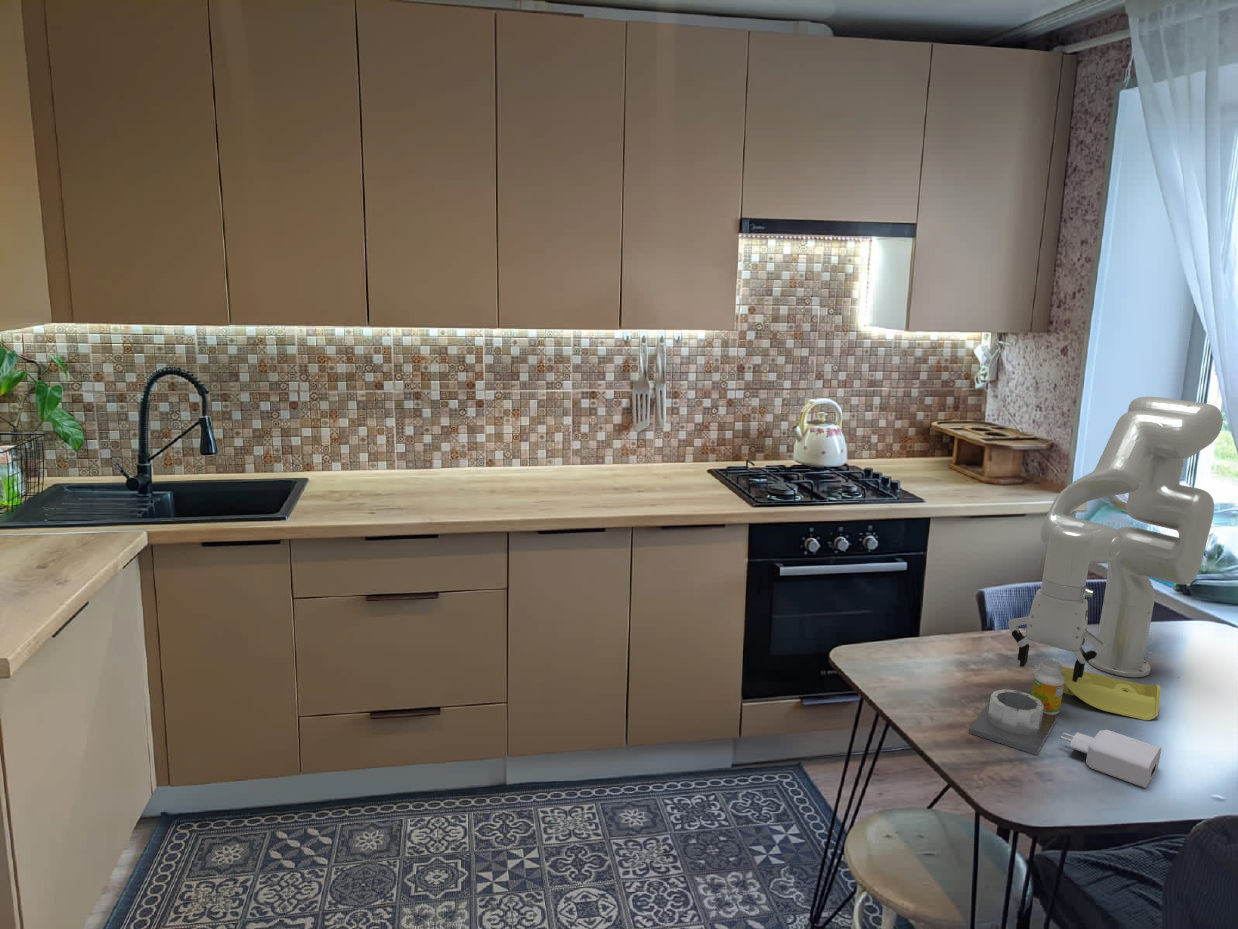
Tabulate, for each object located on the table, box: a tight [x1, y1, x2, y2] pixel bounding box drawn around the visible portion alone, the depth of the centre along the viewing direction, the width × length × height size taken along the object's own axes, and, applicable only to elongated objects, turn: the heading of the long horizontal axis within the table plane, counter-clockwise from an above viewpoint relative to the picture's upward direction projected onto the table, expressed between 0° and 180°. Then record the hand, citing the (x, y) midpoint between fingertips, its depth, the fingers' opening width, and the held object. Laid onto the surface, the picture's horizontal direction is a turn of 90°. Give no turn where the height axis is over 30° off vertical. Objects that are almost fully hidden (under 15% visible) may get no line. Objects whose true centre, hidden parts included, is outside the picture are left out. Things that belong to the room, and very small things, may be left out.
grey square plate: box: [968, 688, 1058, 756], centre depth 171 cm, size 16×12×6 cm
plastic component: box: [1061, 666, 1161, 721], centre depth 184 cm, size 20×7×10 cm
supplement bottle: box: [1031, 659, 1064, 716], centre depth 179 cm, size 5×5×10 cm
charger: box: [1060, 729, 1162, 789], centre depth 160 cm, size 5×9×15 cm
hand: (1048, 672), depth 177 cm, fingers open, 9 cm apart
